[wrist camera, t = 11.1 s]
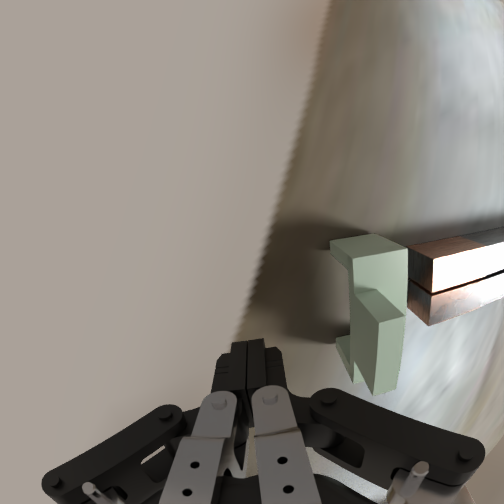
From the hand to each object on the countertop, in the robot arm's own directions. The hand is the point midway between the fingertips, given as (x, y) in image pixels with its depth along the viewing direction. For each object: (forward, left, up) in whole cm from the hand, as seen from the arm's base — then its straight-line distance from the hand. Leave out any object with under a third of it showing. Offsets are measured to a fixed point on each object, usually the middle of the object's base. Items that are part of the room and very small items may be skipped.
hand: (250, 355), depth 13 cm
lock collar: (0, -7, -5) cm, 8 cm away
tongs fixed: (0, -23, -5) cm, 23 cm away
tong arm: (-1, -21, -5) cm, 22 cm away
